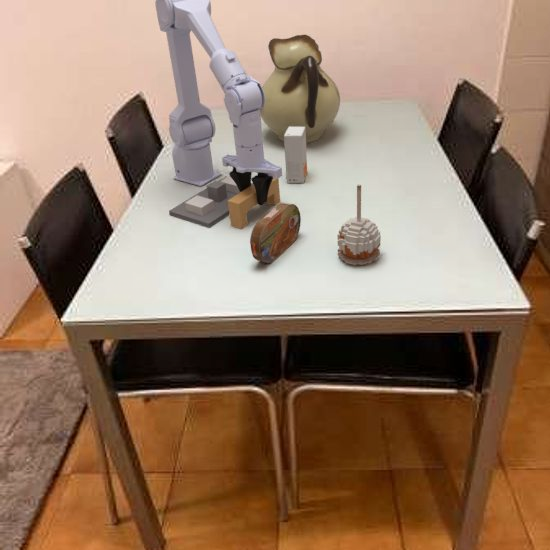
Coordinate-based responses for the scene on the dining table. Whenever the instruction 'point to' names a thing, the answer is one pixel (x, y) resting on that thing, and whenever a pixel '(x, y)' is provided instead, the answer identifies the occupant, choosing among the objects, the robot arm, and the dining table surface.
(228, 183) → the stand
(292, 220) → the tin
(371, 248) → the caramel apple
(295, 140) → the skincare box
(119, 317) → the dining table surface
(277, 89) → the beige sack vase
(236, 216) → the frame
